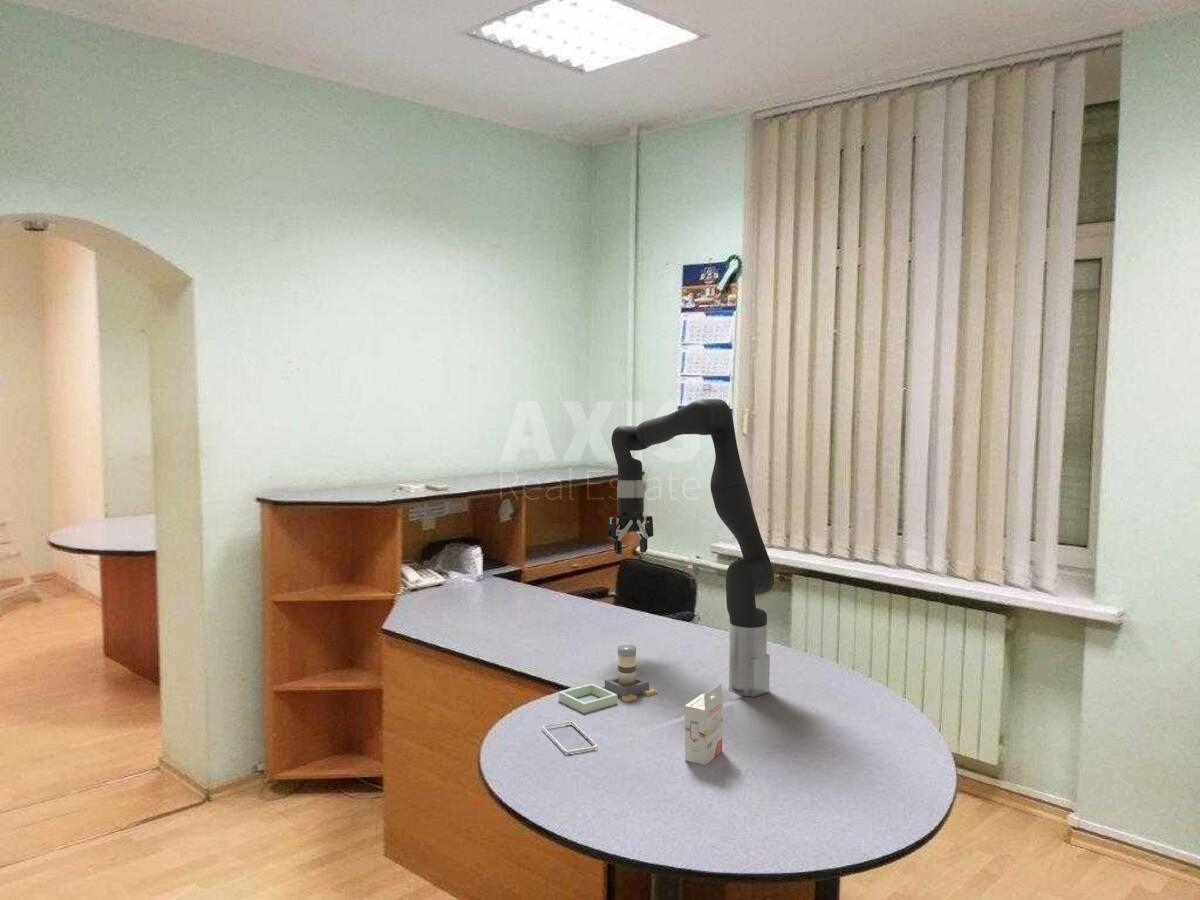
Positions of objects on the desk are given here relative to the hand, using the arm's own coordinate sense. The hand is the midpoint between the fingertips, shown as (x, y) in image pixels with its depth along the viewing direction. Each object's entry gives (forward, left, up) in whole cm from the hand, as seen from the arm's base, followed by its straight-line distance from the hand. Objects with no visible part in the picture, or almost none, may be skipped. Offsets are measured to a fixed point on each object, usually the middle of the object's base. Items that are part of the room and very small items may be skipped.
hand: (631, 553), depth 254 cm
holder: (-27, +24, -28) cm, 46 cm away
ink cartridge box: (-64, +34, -29) cm, 77 cm away
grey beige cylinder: (-27, +24, -27) cm, 45 cm away
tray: (-27, +36, -28) cm, 53 cm away
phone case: (-40, +51, -29) cm, 71 cm away
